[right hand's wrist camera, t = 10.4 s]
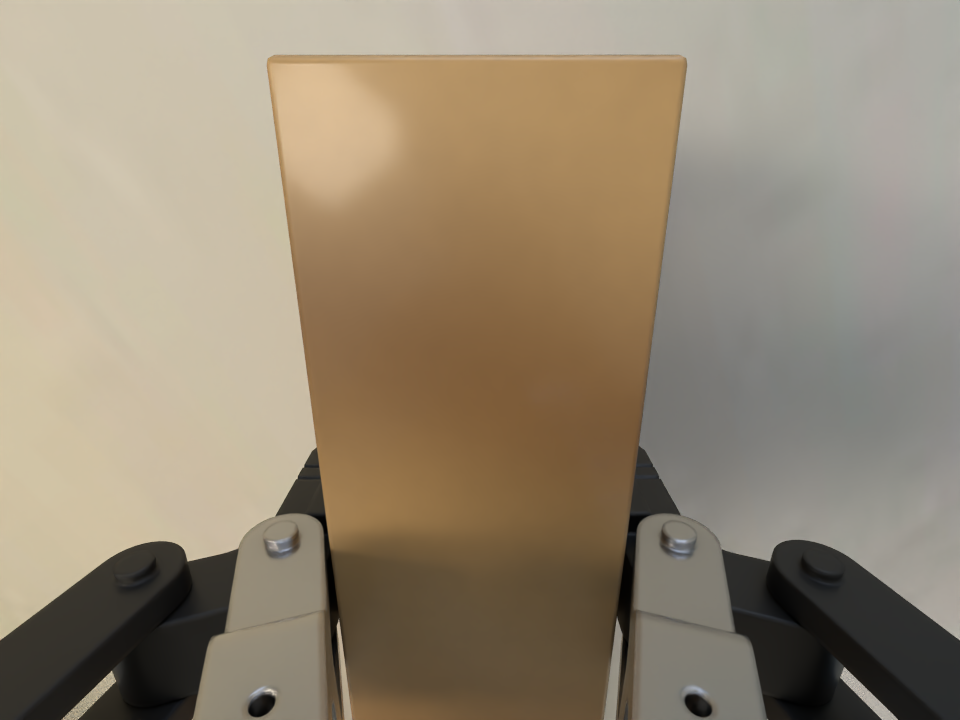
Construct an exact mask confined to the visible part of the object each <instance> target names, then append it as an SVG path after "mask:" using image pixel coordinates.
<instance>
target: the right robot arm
mask: <svg viewBox="0 0 960 720" xmlns="http://www.w3.org/2000/svg"><path fill="white" fill-rule="evenodd" d="M617 618H618V621H619V624H620V628H621V631H622V641H621V651H620V666H619V681H618V695H617V710H616V720H767V719H768V720H882V719H881V718H880V717H879V716H878V715H877V714H876V713H875V712H874V711H873V710H872V709H871V708H870V707H869V706H868V705H867V704H866V703H865V702H864V701H863V700H862V699H861V698H860V697H859V696H858V695H857V694H856V693H855V692H854V691H853V690H852V689H851V688H850V687H849V686H848V685H847V684H846V683H845V682H844V681H843V680H842V679H841V678H840V676H841V674H842V671H843V668H844V667H845V668H846V669H847V670H848V671H849V672H850V673H851V674H852V675H853V676H854V677H855V678H856V679H857V680H859V681H860V682H861V683H862V684H863V685H864V686H865V687H866V688H867V689H868V690H869V691H870V692H871V693H872V694H873V695H874V696H875V697H876V698H877V699H878V700H879V701H880V702H881V703H882V704H883V705H884V706H885V707H886V708H887V709H888V710H889V711H890V712H891V713H892V714H893V715H894V716H895V717H896V718H897V719H898V720H960V640H958V639H957V638H956V637H954V636H953V635H952V634H950V633H949V632H948V631H946V630H945V629H944V628H942V627H941V626H940V625H938V624H937V623H936V622H934V621H933V620H932V619H930V618H929V617H928V616H927V615H925V614H924V613H923V612H921V611H920V610H919V609H917V608H916V607H915V606H913V605H912V604H911V603H909V602H908V601H907V600H905V599H904V598H903V597H901V596H900V595H899V594H897V593H896V592H895V591H893V590H892V589H891V588H889V587H888V586H887V585H885V584H884V583H883V582H881V581H880V580H879V579H877V578H876V577H875V576H874V575H872V574H871V573H870V572H868V571H867V570H866V569H864V568H863V567H862V566H860V565H859V564H858V563H856V562H855V561H854V560H852V559H851V558H849V557H848V556H846V555H844V554H843V553H841V552H839V551H837V550H835V549H833V548H830V547H828V546H825V545H822V544H819V543H815V542H811V541H805V540H789V541H785V542H782V543H780V544H778V545H777V546H776V547H775V548H774V550H773V553H772V557H771V561H766V560H761V559H757V558H753V557H748V556H744V555H739V554H735V553H731V552H727V551H725V550H722V549H721V545H720V542H719V540H718V539H717V537H716V536H715V535H714V533H713V532H711V531H710V530H709V529H708V528H707V527H705V526H704V525H702V524H701V523H699V522H697V521H695V520H693V519H691V518H688V517H685V516H681V515H680V513H679V511H678V509H677V507H676V506H675V504H674V502H673V500H672V498H671V497H670V495H669V493H668V491H667V489H666V488H665V486H664V484H663V482H662V480H661V479H659V475H658V473H657V471H656V470H655V468H654V467H653V464H652V462H651V461H650V459H649V457H648V455H647V453H646V452H645V450H643V449H642V448H641V447H639V446H638V454H637V462H636V470H635V478H634V486H633V493H632V501H631V509H630V517H629V525H628V533H627V540H626V548H625V556H624V564H623V572H622V580H621V587H620V595H619V603H618V611H617ZM338 620H339V612H338V604H337V597H336V589H335V582H334V574H333V566H332V559H331V551H330V543H329V536H328V528H327V520H326V513H325V505H324V498H323V490H322V482H321V475H320V467H319V459H318V452H317V448H316V449H314V450H313V451H312V453H311V454H310V456H309V458H308V460H307V461H306V463H305V465H304V468H302V470H301V472H300V474H299V475H298V479H296V481H295V483H294V484H293V486H292V488H291V490H290V491H289V493H288V495H287V497H286V498H285V500H284V502H283V504H282V505H281V507H280V509H279V511H278V512H277V514H276V516H275V517H272V518H270V519H267V520H265V521H263V522H261V523H259V524H258V525H256V526H255V527H253V528H252V529H251V530H250V531H249V532H248V533H247V534H246V535H245V536H244V537H243V539H242V541H241V542H240V545H239V549H236V550H233V551H231V552H228V553H224V554H220V555H216V556H211V557H207V558H202V559H198V560H193V561H189V562H187V558H186V554H185V552H184V550H183V548H182V547H181V546H179V545H178V544H175V543H172V542H164V541H158V542H150V543H145V544H141V545H137V546H134V547H132V548H129V549H126V550H124V551H122V552H120V553H118V554H116V555H114V556H113V557H111V558H110V559H108V560H107V561H105V562H104V563H102V564H101V565H100V566H98V567H97V568H96V569H94V570H93V571H92V572H90V573H89V574H88V575H86V576H85V577H84V578H82V579H81V580H80V581H79V582H77V583H76V584H75V585H73V586H72V587H71V588H69V589H68V590H67V591H65V592H64V593H63V594H61V595H60V596H59V597H57V598H56V599H55V600H53V601H52V602H51V603H49V604H48V605H47V606H45V607H44V608H43V609H41V610H40V611H39V612H37V613H36V614H35V615H33V616H32V617H31V618H30V619H28V620H27V621H26V622H24V623H23V624H22V625H20V626H19V627H18V628H16V629H15V630H14V631H12V632H11V633H10V634H8V635H7V636H6V637H4V638H3V639H2V640H0V720H62V719H63V717H64V716H65V715H66V714H67V713H68V712H70V711H71V710H72V709H73V708H74V707H75V706H76V705H77V704H78V703H79V702H80V701H81V700H82V699H83V698H84V697H85V696H86V695H87V694H88V693H89V692H90V691H91V690H92V689H93V688H94V687H95V686H96V685H97V684H98V683H99V682H100V681H101V680H103V679H104V678H105V677H106V676H107V675H108V674H109V673H110V672H111V671H113V674H114V677H115V679H116V682H115V683H114V684H113V685H112V686H111V687H110V688H109V689H108V690H107V691H106V692H105V693H104V694H103V695H102V696H101V697H100V698H99V699H98V700H97V701H96V702H95V703H94V704H93V705H92V706H91V707H90V708H89V709H88V710H87V711H86V712H85V713H84V714H83V715H82V716H81V717H80V718H79V719H78V720H192V719H193V720H344V709H343V695H342V680H341V665H340V651H339V640H338V633H337V623H338Z"/></svg>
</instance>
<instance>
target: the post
mask: <svg viewBox="0 0 960 720" xmlns="http://www.w3.org/2000/svg"><path fill="white" fill-rule="evenodd" d="M267 70H268V78H269V85H270V93H271V101H272V108H273V116H274V124H275V131H276V139H277V146H278V154H279V162H280V169H281V177H282V185H283V192H284V200H285V208H286V215H287V223H288V230H289V238H290V246H291V253H292V261H293V269H294V276H295V284H296V291H297V299H298V307H299V314H300V322H301V330H302V337H303V345H304V353H305V360H306V368H307V375H308V383H309V391H310V398H311V406H312V414H313V421H314V429H315V437H316V444H317V452H318V459H319V467H320V475H321V482H322V490H323V498H324V505H325V513H326V520H327V528H328V536H329V543H330V551H331V559H332V566H333V574H334V582H335V589H336V597H337V604H338V612H339V620H340V627H341V635H342V643H343V650H344V658H345V666H346V673H347V681H348V688H349V696H350V704H351V711H352V719H353V720H604V713H605V705H606V697H607V689H608V681H609V674H610V666H611V658H612V650H613V642H614V634H615V627H616V619H617V611H618V603H619V595H620V587H621V580H622V572H623V564H624V556H625V548H626V540H627V533H628V525H629V517H630V509H631V501H632V493H633V486H634V478H635V470H636V462H637V454H638V446H639V439H640V431H641V423H642V415H643V407H644V399H645V392H646V384H647V376H648V368H649V360H650V352H651V345H652V337H653V329H654V321H655V313H656V306H657V298H658V290H659V282H660V274H661V266H662V259H663V251H664V243H665V235H666V227H667V219H668V212H669V204H670V196H671V188H672V180H673V172H674V165H675V157H676V149H677V141H678V133H679V125H680V118H681V110H682V102H683V94H684V86H685V78H686V71H687V61H686V58H685V57H683V56H681V55H274V56H272V57H270V58H268V61H267Z"/></svg>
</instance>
